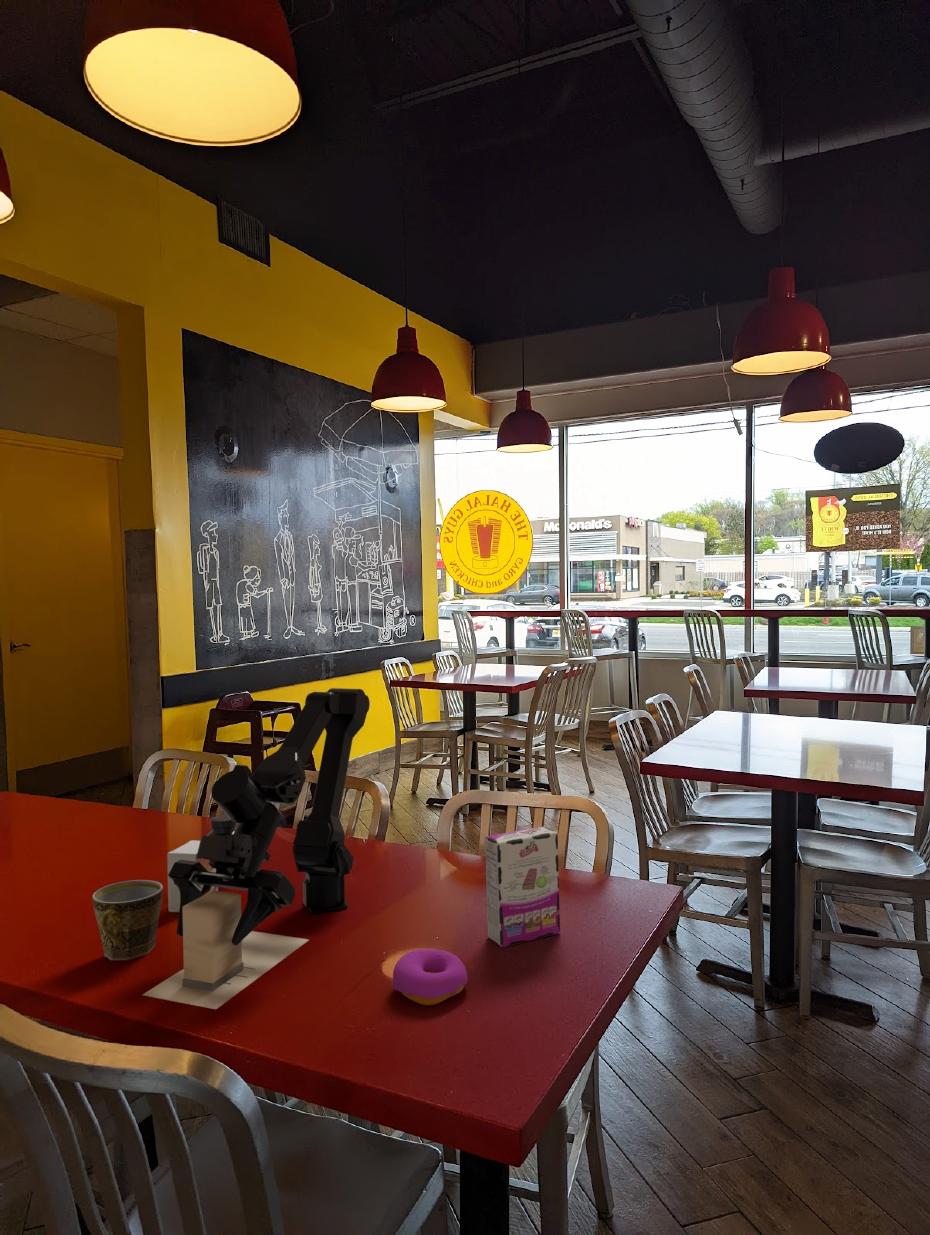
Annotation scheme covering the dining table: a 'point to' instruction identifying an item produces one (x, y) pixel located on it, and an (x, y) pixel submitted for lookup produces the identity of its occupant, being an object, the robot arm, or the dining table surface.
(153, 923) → the ceramic cup
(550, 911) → the candy bar box
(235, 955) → the block
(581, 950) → the dining table surface
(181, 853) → the small box
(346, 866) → the robot arm
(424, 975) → the donut
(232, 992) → the white lined paper sheet
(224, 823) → the supplement bottle
